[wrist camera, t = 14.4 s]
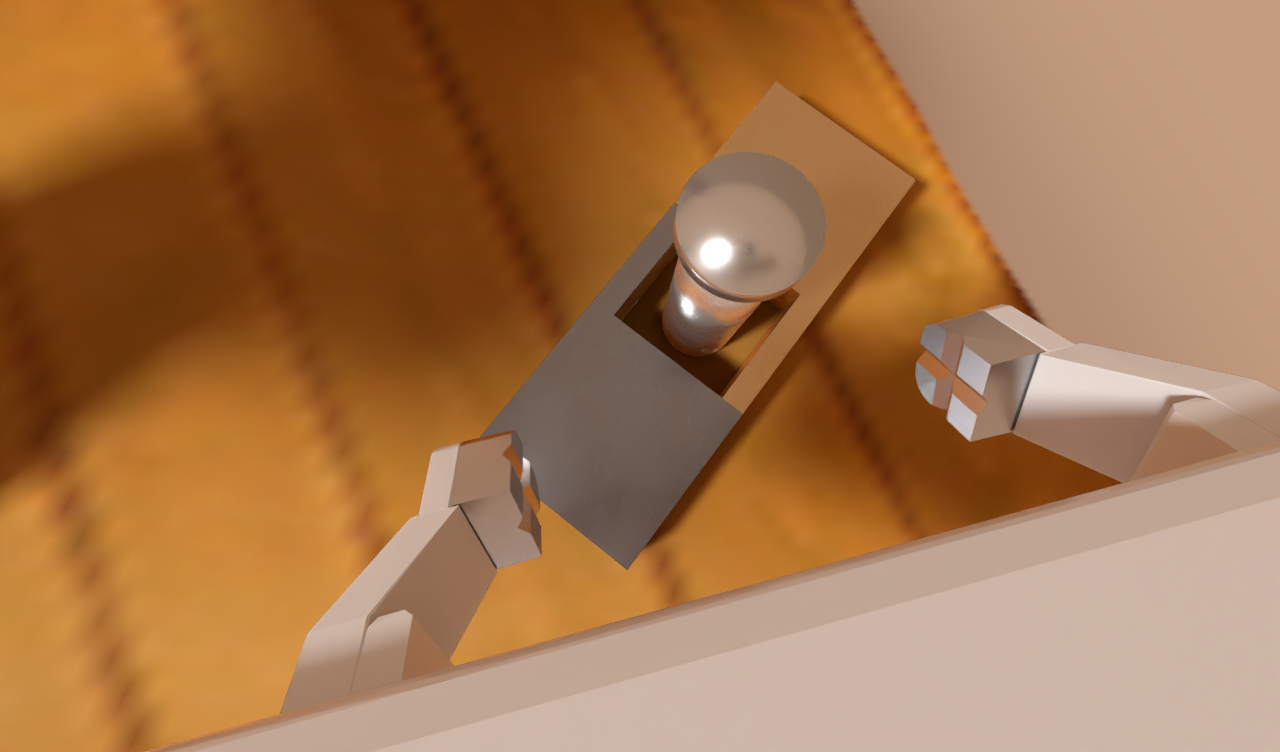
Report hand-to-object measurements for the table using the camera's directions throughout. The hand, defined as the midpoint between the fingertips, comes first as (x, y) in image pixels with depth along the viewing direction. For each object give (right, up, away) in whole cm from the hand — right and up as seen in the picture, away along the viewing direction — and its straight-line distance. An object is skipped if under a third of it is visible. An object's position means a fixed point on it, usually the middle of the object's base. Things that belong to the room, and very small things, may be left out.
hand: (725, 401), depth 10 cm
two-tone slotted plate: (+1, +3, +13) cm, 14 cm away
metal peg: (+1, +3, +13) cm, 14 cm away
